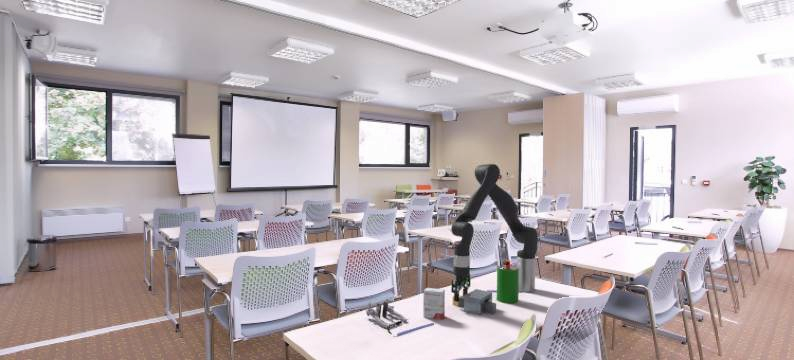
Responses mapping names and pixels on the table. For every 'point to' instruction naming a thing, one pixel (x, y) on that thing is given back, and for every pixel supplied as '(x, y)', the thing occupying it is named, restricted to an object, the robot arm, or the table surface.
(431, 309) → the ink box
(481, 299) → the housing
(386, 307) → the bike brake
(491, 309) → the plug rod
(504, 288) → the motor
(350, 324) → the table surface
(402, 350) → the table surface
